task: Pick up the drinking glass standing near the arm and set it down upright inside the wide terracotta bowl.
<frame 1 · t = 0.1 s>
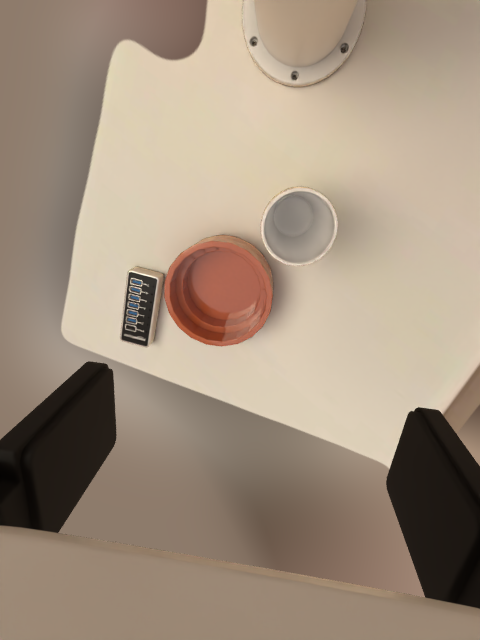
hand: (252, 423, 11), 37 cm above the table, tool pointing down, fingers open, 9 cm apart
multiport hub: (145, 304, 50), on the table
bowl: (224, 283, 47), on the table
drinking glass: (292, 215, 43), on the table
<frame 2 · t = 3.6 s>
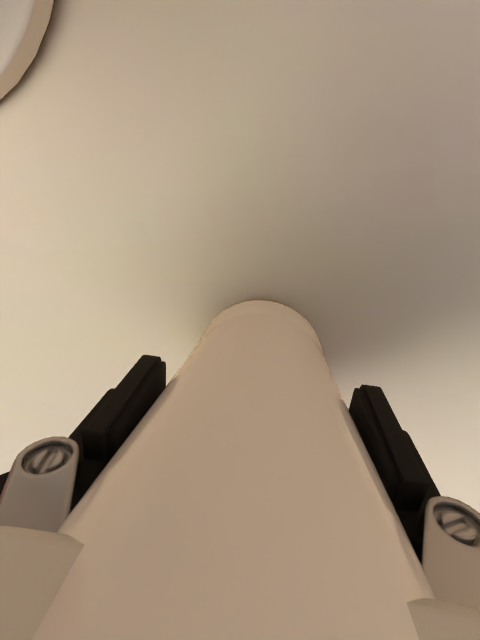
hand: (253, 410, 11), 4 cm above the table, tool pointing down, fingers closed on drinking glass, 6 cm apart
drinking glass: (260, 349, 16), on the table, touching gripper
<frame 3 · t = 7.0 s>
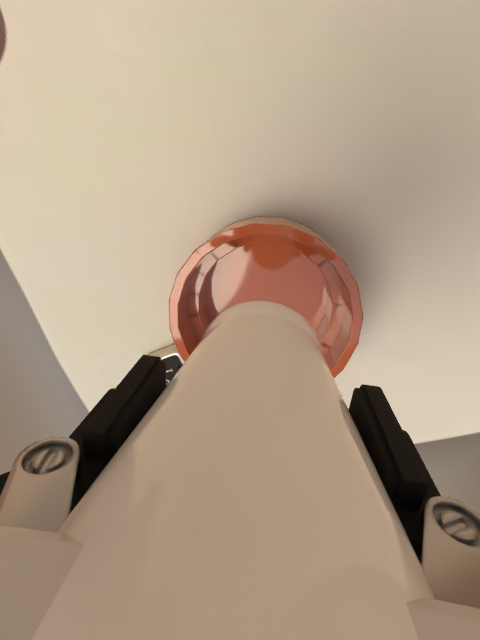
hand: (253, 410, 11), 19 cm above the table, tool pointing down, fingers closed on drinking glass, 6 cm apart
multiport hub: (191, 393, 34), on the table
bowl: (265, 297, 29), on the table
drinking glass: (260, 350, 16), point 14 cm above the table, touching gripper
when the fingers open (5 cm above the table, at t = 10.6 s): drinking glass stays where it is, resting on bowl.
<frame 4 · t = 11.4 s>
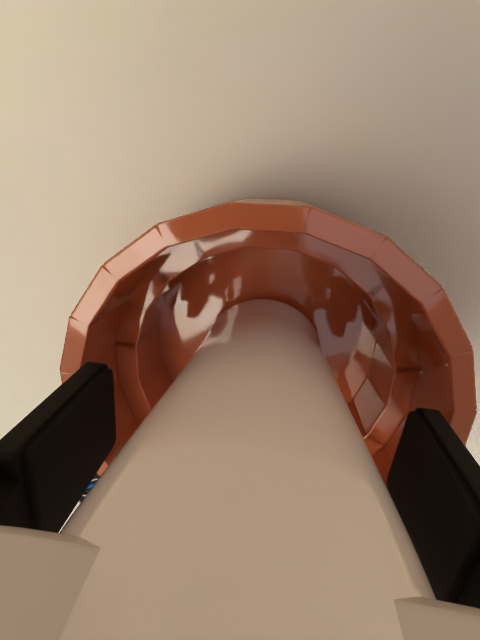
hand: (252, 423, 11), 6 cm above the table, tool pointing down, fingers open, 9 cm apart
bowl: (263, 342, 17), on the table
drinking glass: (263, 346, 16), resting on bowl
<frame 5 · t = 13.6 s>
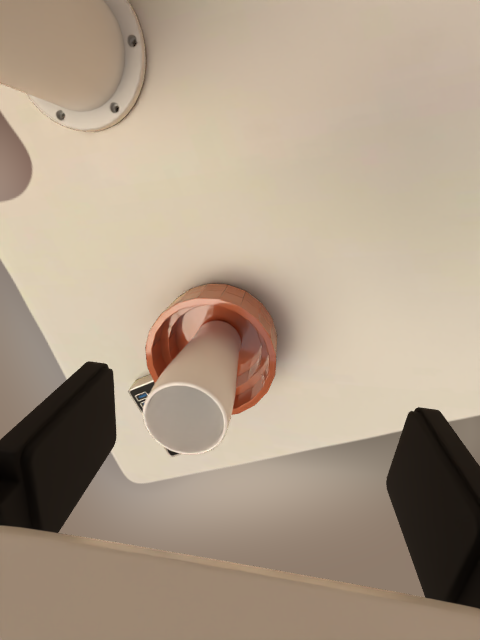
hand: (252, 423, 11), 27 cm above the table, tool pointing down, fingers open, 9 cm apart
multiport hub: (170, 408, 45), on the table
bowl: (219, 337, 40), on the table
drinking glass: (219, 339, 40), resting on bowl
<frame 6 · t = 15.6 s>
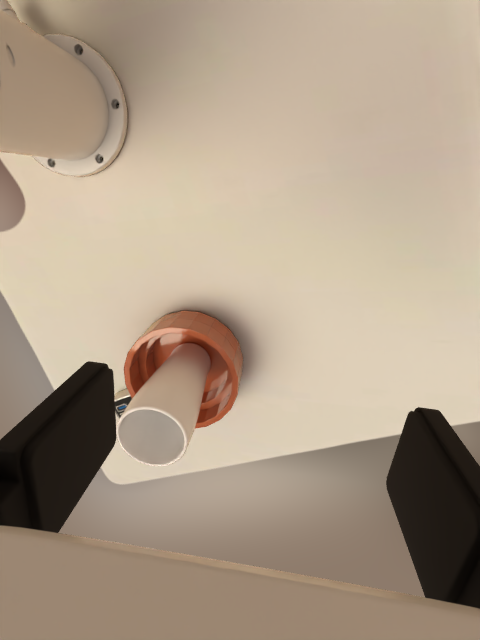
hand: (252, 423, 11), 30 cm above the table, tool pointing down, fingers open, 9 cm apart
multiport hub: (147, 417, 49), on the table
bowl: (192, 357, 45), on the table
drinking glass: (191, 359, 44), resting on bowl
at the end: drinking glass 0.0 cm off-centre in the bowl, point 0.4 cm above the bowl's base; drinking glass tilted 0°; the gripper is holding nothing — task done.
